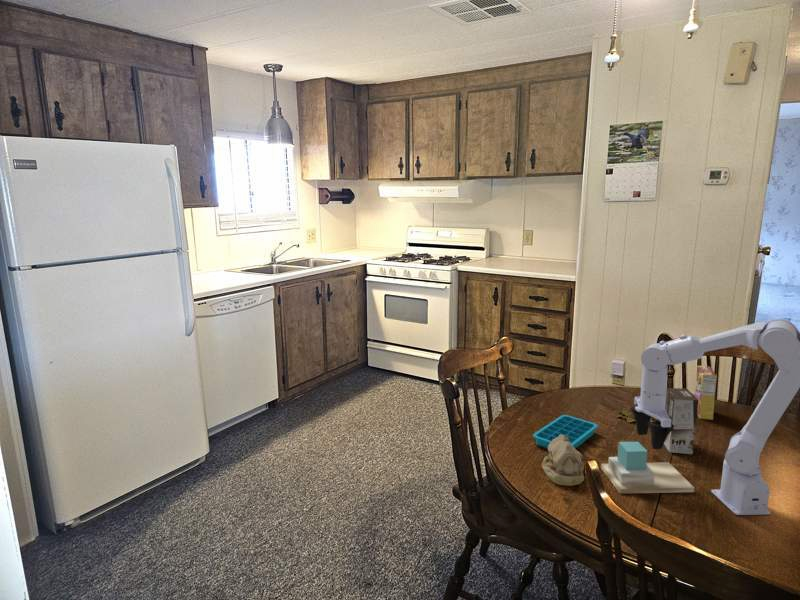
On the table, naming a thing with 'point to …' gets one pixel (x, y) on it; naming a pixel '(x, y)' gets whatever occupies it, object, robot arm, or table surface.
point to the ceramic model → (563, 462)
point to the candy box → (705, 392)
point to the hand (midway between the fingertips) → (649, 441)
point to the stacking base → (660, 480)
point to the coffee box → (681, 420)
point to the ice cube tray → (565, 431)
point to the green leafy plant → (629, 417)
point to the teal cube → (632, 455)
